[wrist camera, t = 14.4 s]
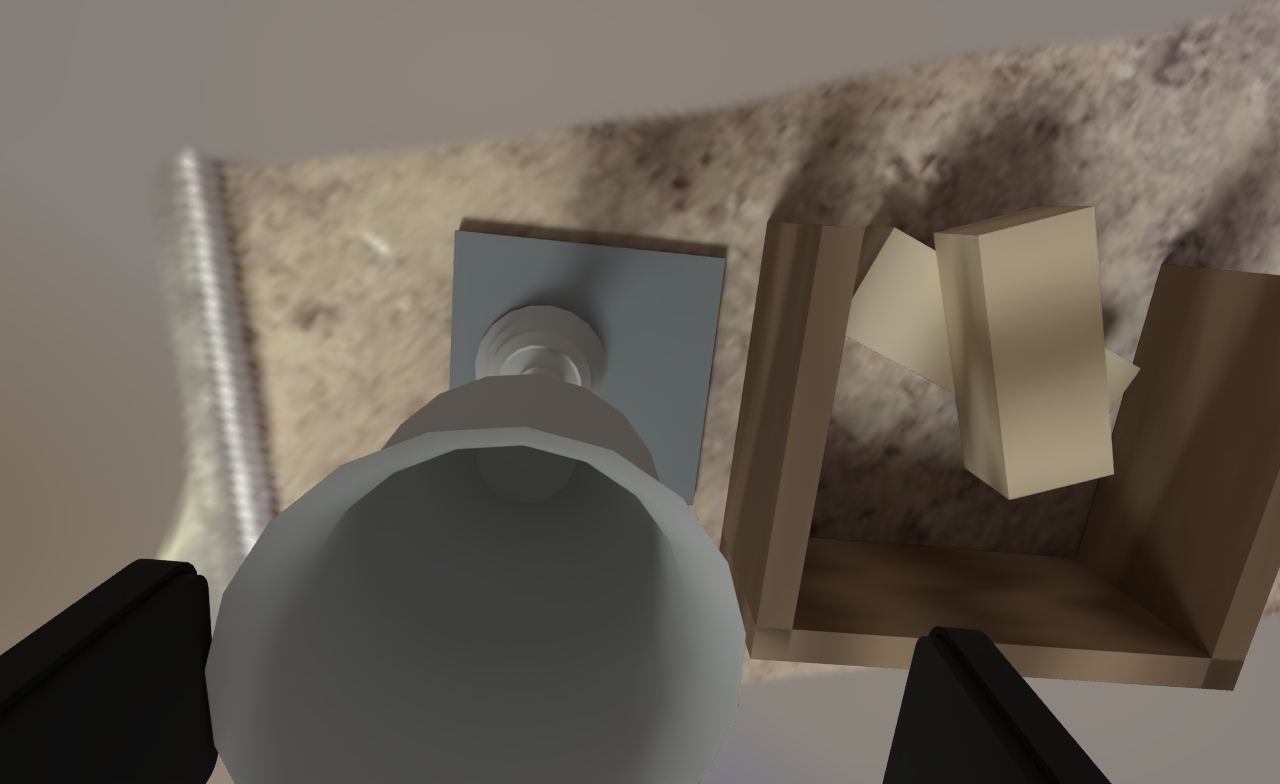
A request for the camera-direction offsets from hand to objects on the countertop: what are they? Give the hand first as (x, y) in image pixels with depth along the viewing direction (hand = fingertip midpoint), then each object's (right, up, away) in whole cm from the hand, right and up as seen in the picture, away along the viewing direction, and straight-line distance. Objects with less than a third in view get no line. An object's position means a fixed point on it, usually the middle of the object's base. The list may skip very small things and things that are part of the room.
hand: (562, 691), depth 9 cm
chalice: (-3, +5, +17) cm, 18 cm away
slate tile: (-1, +5, +18) cm, 19 cm away
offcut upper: (+14, +6, +16) cm, 22 cm away
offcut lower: (+14, +6, +19) cm, 24 cm away
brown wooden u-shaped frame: (+14, +3, +19) cm, 24 cm away
